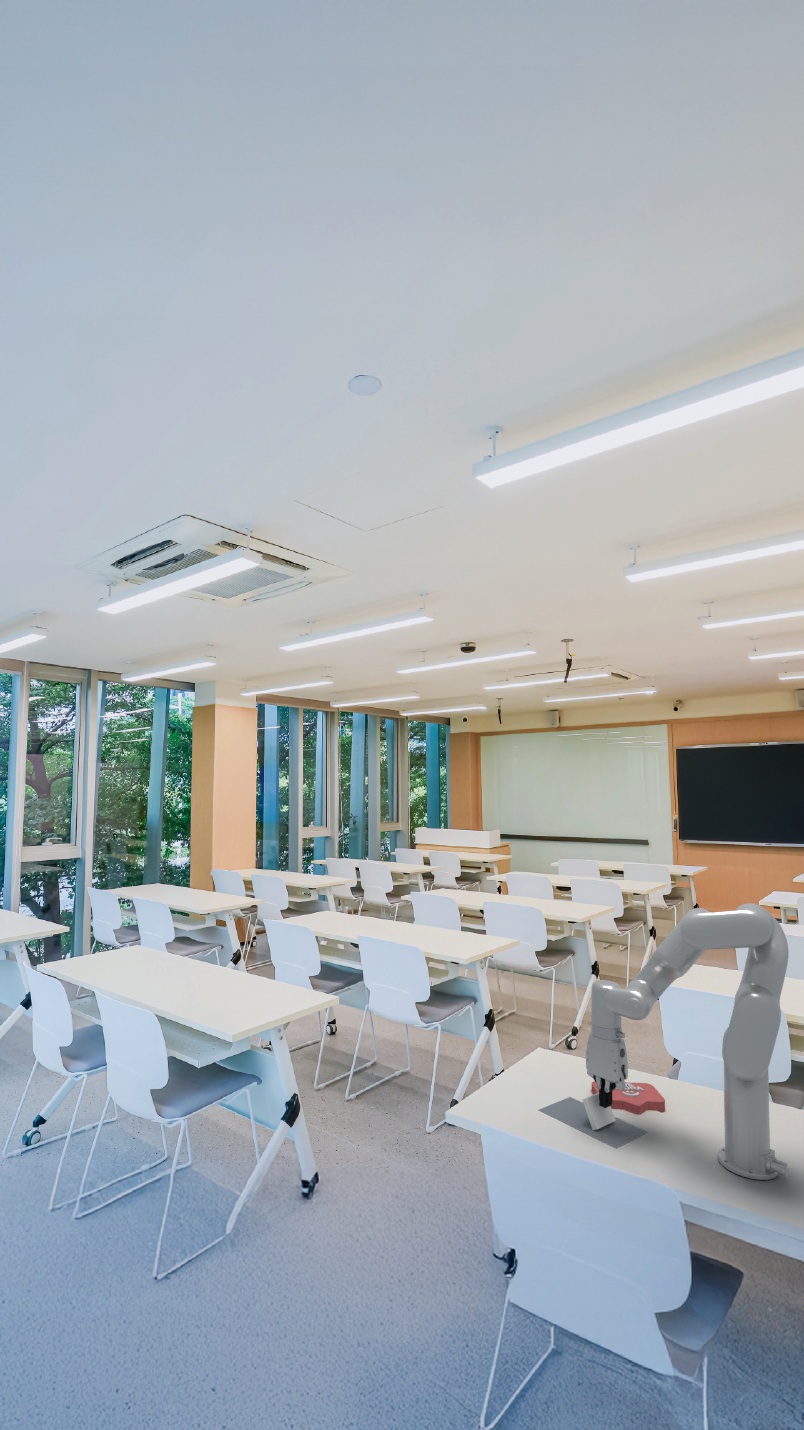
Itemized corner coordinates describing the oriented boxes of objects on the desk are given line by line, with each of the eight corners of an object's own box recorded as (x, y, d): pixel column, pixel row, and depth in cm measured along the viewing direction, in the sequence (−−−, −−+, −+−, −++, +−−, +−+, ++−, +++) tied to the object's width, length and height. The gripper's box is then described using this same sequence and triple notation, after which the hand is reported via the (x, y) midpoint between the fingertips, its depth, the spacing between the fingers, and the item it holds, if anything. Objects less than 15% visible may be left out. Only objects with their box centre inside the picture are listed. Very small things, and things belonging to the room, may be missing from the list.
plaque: (605, 1102, 181) (589, 1078, 195) (604, 1117, 180) (589, 1092, 195) (671, 1104, 180) (651, 1081, 195) (671, 1119, 180) (651, 1095, 195)
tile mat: (647, 1134, 171) (647, 1132, 171) (616, 1150, 162) (616, 1148, 162) (570, 1098, 189) (570, 1096, 189) (537, 1111, 181) (538, 1110, 181)
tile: (615, 1120, 175) (605, 1090, 178) (597, 1129, 170) (586, 1098, 173) (610, 1121, 176) (600, 1091, 179) (592, 1130, 171) (582, 1099, 174)
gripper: (640, 1037, 172) (639, 1113, 170) (590, 1020, 183) (589, 1091, 181) (623, 1043, 167) (623, 1121, 165) (573, 1025, 178) (572, 1098, 176)
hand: (605, 1105), depth 173 cm, fingers closed
